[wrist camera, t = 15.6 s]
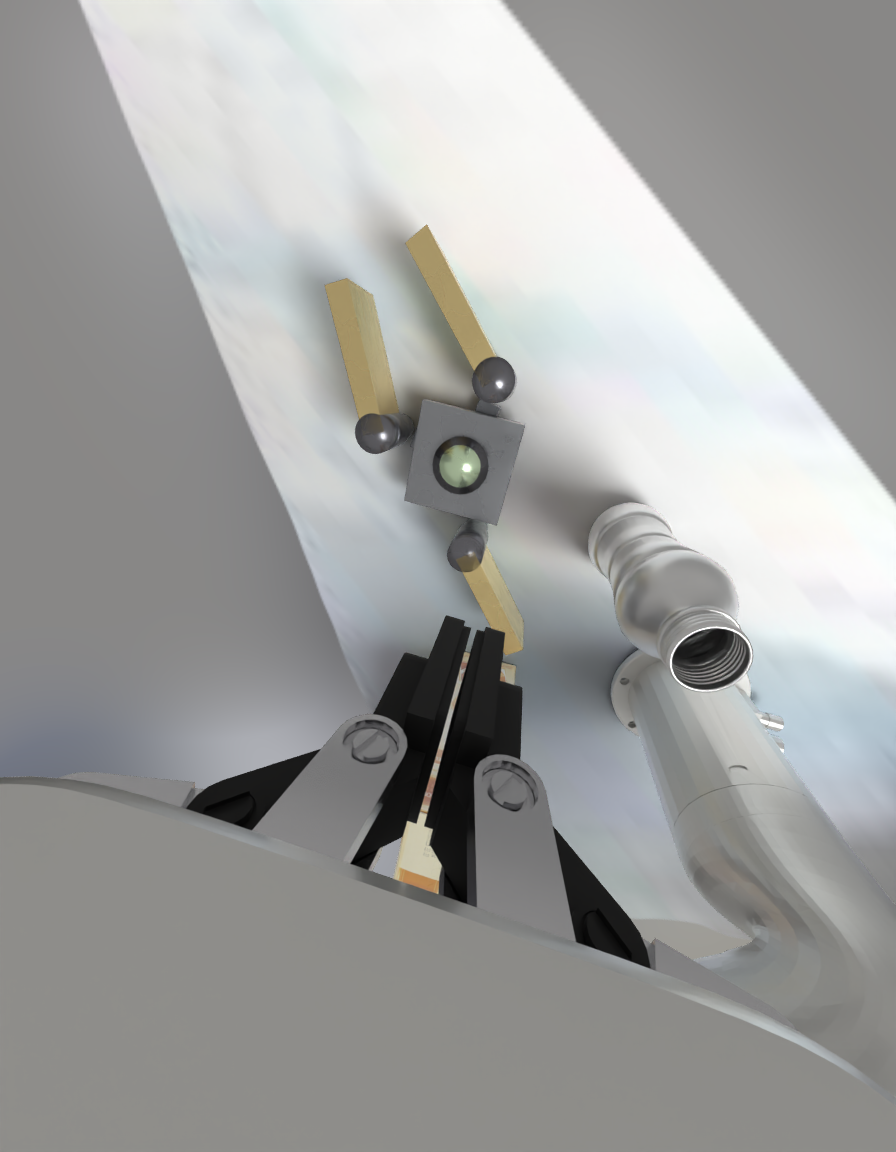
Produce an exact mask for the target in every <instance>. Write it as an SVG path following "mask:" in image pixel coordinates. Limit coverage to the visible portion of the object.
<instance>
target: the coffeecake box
mask: <svg viewBox="0 0 896 1152" xmlns="http://www.w3.org/2000/svg"><path fill="white" fill-rule="evenodd" d="M469 656H470V653H468V652H464V656H463V660H462V663H461V667H460V671H459V675H458V678H457V682H456V686H455V689H454V693H453V697H452V701H451V704H450V708H449V712H448V715H447V719H446V723H445V726H444V730H443V733H442V737H441V740H440V744H439V747H438V751H437V754H436V758H435V761H434V765H433V768H432V772H431V775H430V779H429V782H428V786H427V789H426V793H425V796H424V800H423V803H422V807H421V810H420V814H419V817H418V821H417V824H415V823H412V822H409V821H407V824H406V828H405V831H404V834H403V837H402V839H401V844H400V848H399V853H398V857H397V862H396V866H395V871H394V875H393V879H395V880H398V881H401V882H404V883H407V884H410V885H413V886H416V887H419V888H422V889H425V890H427V891H430V892H433V893H436V894H438V891H439V876H440V871H441V867H442V865H441V863H440V862H439V860H438V858H437V856H436V855H435V853H434V851H433V849H432V848H431V846H429V843H430V839H431V835H432V830H433V829H430V828H427V827H424V824H425V820H426V816H427V812H428V808H429V804H430V801H431V797H432V793H433V789H434V785H435V781H436V777H437V773H438V769H439V765H440V761H441V757H442V753H443V749H444V746H445V742H446V738H447V734H448V730H449V726H450V722H451V718H452V714H453V711H454V707H455V703H456V700H457V697H458V693H459V690H460V686H461V683H462V680H463V676H464V673H465V669H466V666H467V662H468V659H469ZM515 672H516V666H514V665H510V664H507V663H503V662H502V667H501V676H500V681H503V682H506V683H510V684H513V685H515Z"/></svg>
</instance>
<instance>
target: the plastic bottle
mask: <svg viewBox="0 0 896 1152" xmlns="http://www.w3.org/2000/svg"><path fill="white" fill-rule="evenodd" d="M588 551H589V555H590V558H591V560H592V563H593V564H594V565H595V567H596V568H597V569H598V570H599V572H600V573H601V574H603V575H604V576H605V577H606V578H607V579H608V580H609V582H610V584H611V587H612V590H613V595H614V605H615V612H616V617H617V620H618V624H619V627H620V629H621V631H622V633H623V634H624V636H625V637H626V638H627V639H628V641H630V642H631V643H632V644H633V645H635V646H636V647H637V648H638V649H640V650H641V651H642V652H644V653H646V654H648V655H650V656H652V657H655V658H659V659H661V661H662V662H663V664H664V665H665V666H666V667H667V668H668V670H669V672H670V674H671V676H672V677H673V678H674V680H675V681H676V682H677V683H679V684H680V685H681V686H683V687H685V688H686V689H689V690H692V691H695V692H716V691H720V690H723V689H726V688H728V687H730V686H732V685H734V684H736V683H737V682H738V681H740V680H741V679H742V678H743V677H744V676H745V675H746V673H747V672H748V670H749V669H750V667H751V664H752V661H753V649H752V646H751V644H750V642H749V639H748V638H747V637H746V635H745V634H744V633H743V632H742V631H741V628H740V626H739V624H738V623H737V622H736V619H737V616H738V610H739V602H738V595H737V592H736V588H735V586H734V583H733V580H732V578H731V577H730V576H729V574H728V573H727V571H726V570H725V569H724V568H723V567H721V566H720V565H719V564H718V563H716V562H715V561H713V560H712V559H710V558H708V557H706V556H705V555H703V554H700V553H698V552H696V551H694V550H692V549H689V548H687V547H685V546H684V545H683V544H681V543H680V542H678V541H677V540H676V539H675V538H674V536H673V534H672V531H671V529H670V526H669V525H668V523H667V521H666V520H665V518H664V517H663V515H662V514H661V513H659V512H658V511H657V510H656V509H654V508H652V507H650V506H647V505H644V504H639V503H631V502H629V503H621V504H618V505H615V506H613V507H611V508H609V509H607V510H606V511H604V512H603V513H602V514H601V515H600V516H599V517H598V518H597V519H596V521H595V522H594V524H593V526H592V528H591V530H590V534H589V540H588Z"/></svg>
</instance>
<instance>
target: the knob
mask: <svg viewBox="0 0 896 1152" xmlns="http://www.w3.org/2000/svg"><path fill="white" fill-rule="evenodd" d="M487 541H488V532H487V525H486V523H485V522H482V521H478V520H474V519H471V518H470V519H468V520H467V521H466V523H464V524H462V525H461V526H460V527H459V529H458V531H457V533H456V535H455V537H454V539H453V541H452V543H451V545H450V546H449V549H448V552H447V557H448V561H449V563H450V565H451V566H452V567H453V568H454V569H456V570H458V571H460V572H463V574H464V576H465V578H466V580H467V582H468V584H469V586H470V588H471V590H472V592H473V594H474V596H475V598H476V599H477V601H478V603H479V605H480V607H481V609H482V611H483V613H484V615H485V617H486V619H487V621H488V623H489V625H490V626H491V628H492V629H495V630H498V631H502V632H505V641H504V649H503V652H504V653H505V655H509V654H512V653H515V652H518V651H521V650H523V627H524V621H523V619H522V617H521V615H520V613H519V611H518V609H517V606H516V604H515V602H514V600H513V598H512V596H511V594H510V592H509V590H508V588H507V586H506V584H505V582H504V580H503V578H502V576H501V574H500V572H499V570H498V568H497V566H496V564H495V562H494V559H493V557H492V555H491V553H490V551H489V549H488V547H487Z"/></svg>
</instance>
